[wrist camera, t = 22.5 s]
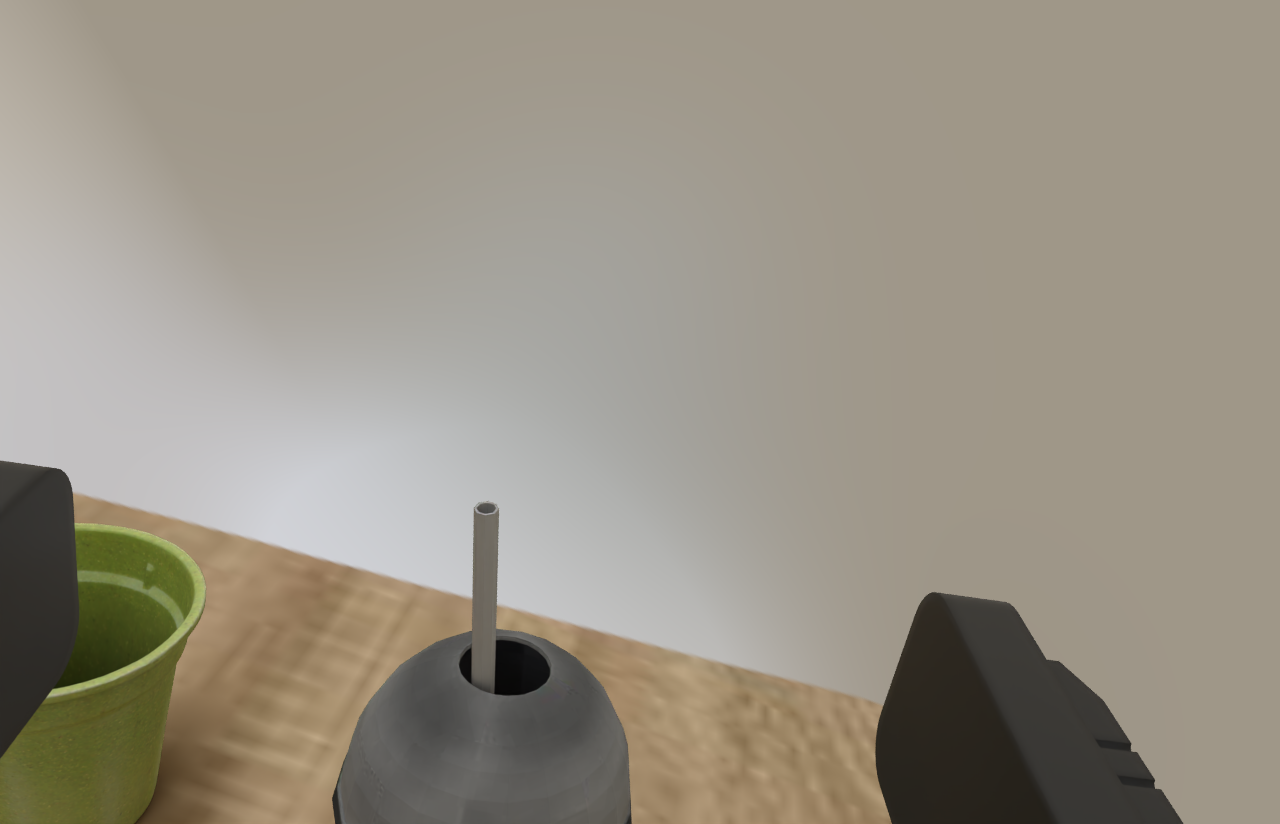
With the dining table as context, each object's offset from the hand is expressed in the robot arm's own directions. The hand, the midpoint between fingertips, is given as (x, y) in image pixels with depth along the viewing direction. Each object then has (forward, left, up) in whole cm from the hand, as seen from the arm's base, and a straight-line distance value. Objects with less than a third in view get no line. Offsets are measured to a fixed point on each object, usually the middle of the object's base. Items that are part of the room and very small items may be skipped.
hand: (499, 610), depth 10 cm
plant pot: (+4, +25, -25) cm, 35 cm away
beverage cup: (+8, +8, -25) cm, 27 cm away
